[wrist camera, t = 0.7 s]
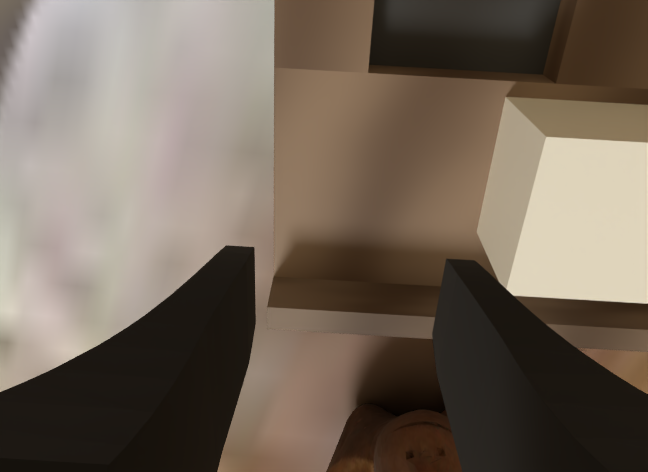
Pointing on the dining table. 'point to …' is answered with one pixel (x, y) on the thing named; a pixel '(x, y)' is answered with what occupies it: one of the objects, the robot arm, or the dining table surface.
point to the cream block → (569, 200)
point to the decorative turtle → (395, 442)
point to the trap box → (423, 149)
